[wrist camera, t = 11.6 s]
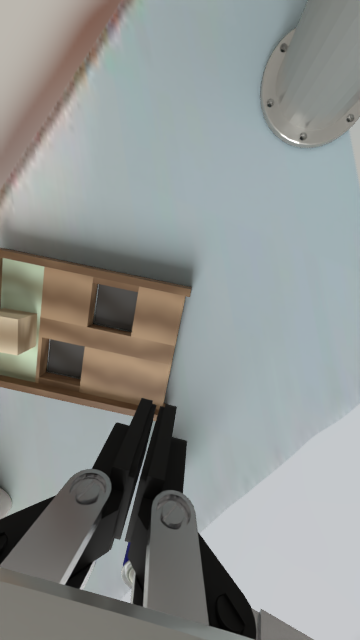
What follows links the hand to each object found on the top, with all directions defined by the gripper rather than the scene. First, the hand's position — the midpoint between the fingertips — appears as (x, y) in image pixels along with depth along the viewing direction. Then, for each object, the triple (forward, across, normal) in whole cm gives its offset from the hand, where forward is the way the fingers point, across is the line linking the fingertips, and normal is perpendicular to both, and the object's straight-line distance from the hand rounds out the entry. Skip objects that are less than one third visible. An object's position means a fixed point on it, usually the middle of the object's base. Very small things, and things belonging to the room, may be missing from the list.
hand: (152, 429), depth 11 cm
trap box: (+26, +13, +7) cm, 30 cm away
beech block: (+24, +23, +8) cm, 34 cm away
